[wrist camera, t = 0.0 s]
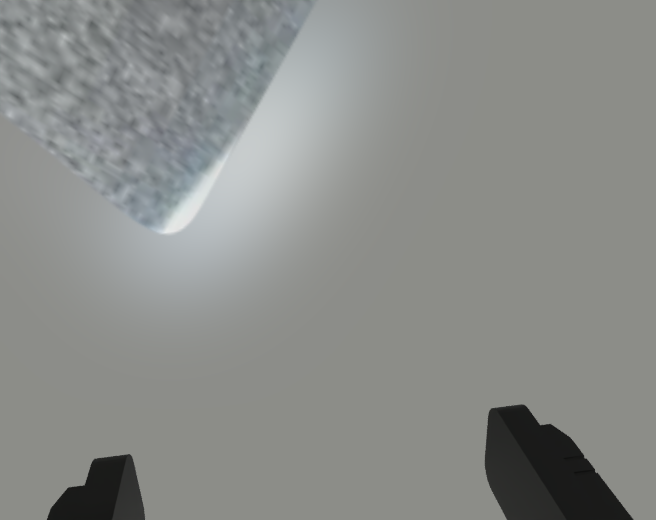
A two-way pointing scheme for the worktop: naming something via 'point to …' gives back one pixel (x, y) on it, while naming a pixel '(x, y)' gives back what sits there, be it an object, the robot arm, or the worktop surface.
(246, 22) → the worktop surface
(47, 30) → the worktop surface
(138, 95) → the worktop surface
